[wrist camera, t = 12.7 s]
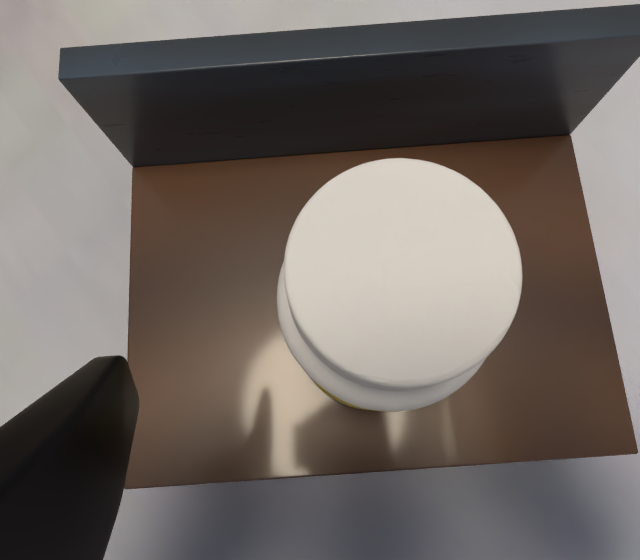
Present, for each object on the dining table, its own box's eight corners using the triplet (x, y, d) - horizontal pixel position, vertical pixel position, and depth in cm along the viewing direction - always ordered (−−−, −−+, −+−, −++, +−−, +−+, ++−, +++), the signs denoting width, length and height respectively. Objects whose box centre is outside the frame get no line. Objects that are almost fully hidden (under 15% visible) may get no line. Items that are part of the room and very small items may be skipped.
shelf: (576, 443, 19) (784, 478, 10) (165, 471, 19) (25, 531, 10) (524, 161, 22) (652, 2, 13) (167, 187, 22) (59, 47, 13)
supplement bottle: (470, 350, 16) (614, 297, 8) (355, 440, 15) (380, 484, 7) (379, 238, 17) (422, 88, 9) (267, 319, 16) (204, 238, 8)
